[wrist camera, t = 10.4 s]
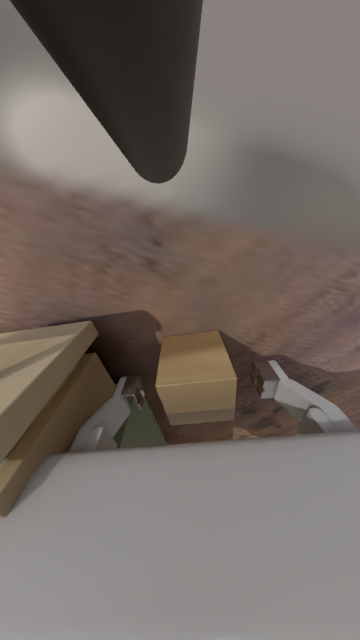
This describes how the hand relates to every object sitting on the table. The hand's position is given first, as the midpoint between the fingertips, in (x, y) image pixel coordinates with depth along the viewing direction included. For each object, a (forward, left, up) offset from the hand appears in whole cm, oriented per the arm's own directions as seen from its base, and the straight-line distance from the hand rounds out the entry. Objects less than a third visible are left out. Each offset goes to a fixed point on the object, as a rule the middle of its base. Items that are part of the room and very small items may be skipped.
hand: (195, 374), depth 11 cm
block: (0, 0, -2) cm, 2 cm away
